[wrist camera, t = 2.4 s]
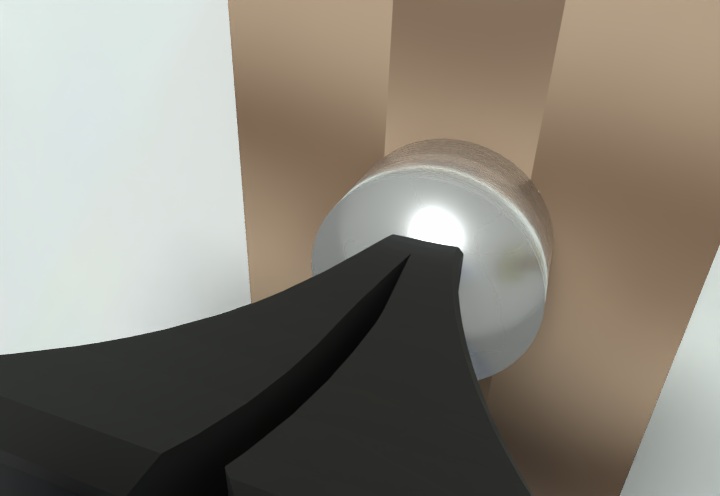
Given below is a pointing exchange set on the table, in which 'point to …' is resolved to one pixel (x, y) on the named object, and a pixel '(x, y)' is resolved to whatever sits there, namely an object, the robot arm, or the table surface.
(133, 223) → the table surface
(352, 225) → the button
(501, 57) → the button panel
